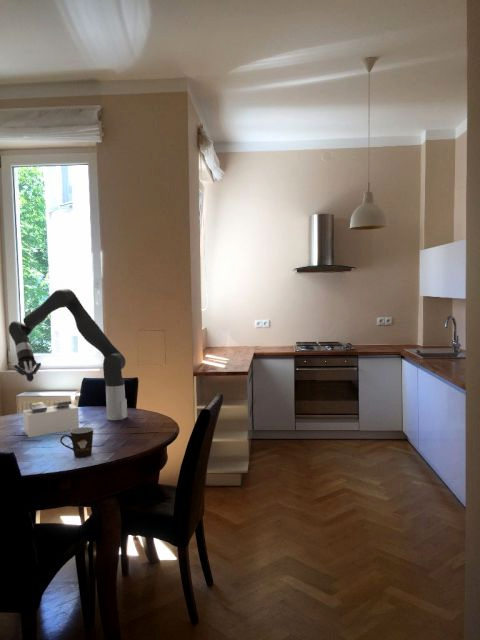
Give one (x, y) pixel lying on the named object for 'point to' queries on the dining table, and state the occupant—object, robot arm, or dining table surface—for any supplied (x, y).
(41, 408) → the rocker outer
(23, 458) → the dining table surface
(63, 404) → the block
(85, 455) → the coffee mug
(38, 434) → the switch box
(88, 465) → the dining table surface
